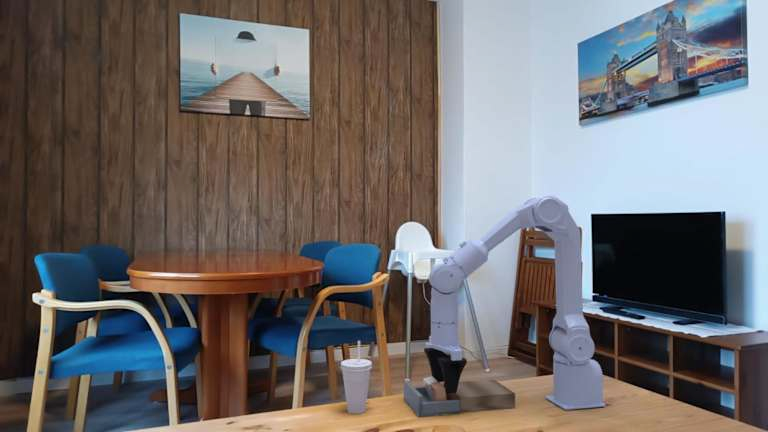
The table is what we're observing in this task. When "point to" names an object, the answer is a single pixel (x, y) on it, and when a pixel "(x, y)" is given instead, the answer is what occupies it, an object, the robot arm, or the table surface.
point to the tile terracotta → (438, 392)
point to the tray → (428, 402)
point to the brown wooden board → (482, 396)
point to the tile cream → (427, 383)
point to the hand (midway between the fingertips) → (444, 387)
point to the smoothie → (356, 382)
